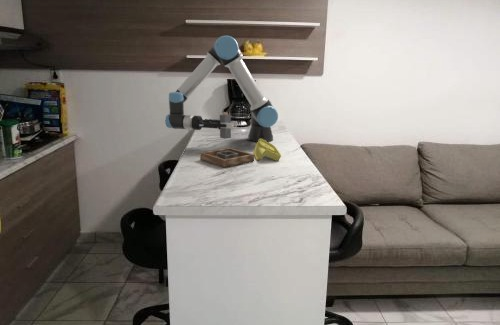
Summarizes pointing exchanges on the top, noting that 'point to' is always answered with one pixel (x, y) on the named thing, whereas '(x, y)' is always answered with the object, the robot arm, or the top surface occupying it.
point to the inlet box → (227, 157)
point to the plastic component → (266, 150)
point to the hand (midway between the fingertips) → (234, 124)
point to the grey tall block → (225, 132)
